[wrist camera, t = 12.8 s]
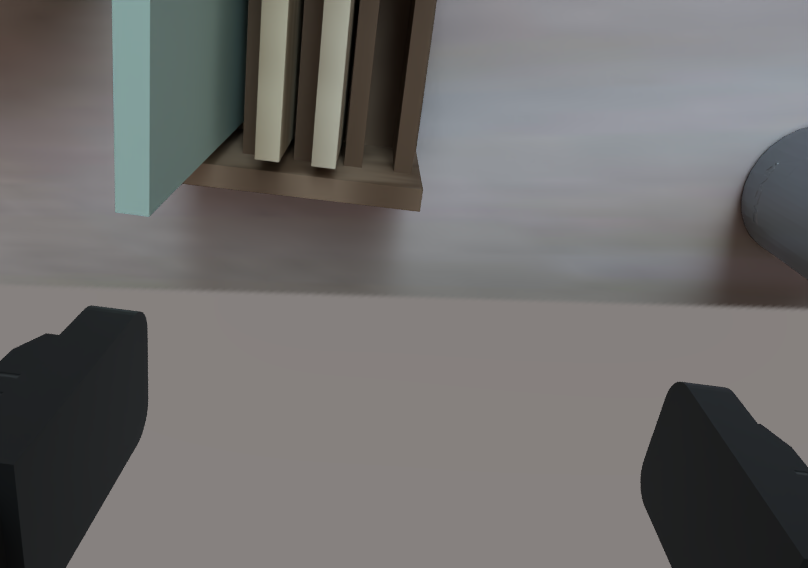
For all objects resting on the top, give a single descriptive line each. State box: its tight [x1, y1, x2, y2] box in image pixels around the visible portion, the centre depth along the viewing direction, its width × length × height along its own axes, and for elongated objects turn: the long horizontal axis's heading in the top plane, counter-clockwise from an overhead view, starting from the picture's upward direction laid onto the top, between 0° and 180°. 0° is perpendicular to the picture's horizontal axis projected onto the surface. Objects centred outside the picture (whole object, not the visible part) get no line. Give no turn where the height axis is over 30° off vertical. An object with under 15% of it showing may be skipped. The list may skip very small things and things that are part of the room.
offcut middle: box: [311, 0, 358, 169], centre depth 37 cm, size 1×11×10 cm, turn 172°
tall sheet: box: [112, 0, 249, 217], centre depth 32 cm, size 1×11×20 cm, turn 172°
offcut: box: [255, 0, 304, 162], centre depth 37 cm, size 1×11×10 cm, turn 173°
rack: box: [182, 0, 437, 212], centre depth 38 cm, size 14×15×10 cm
